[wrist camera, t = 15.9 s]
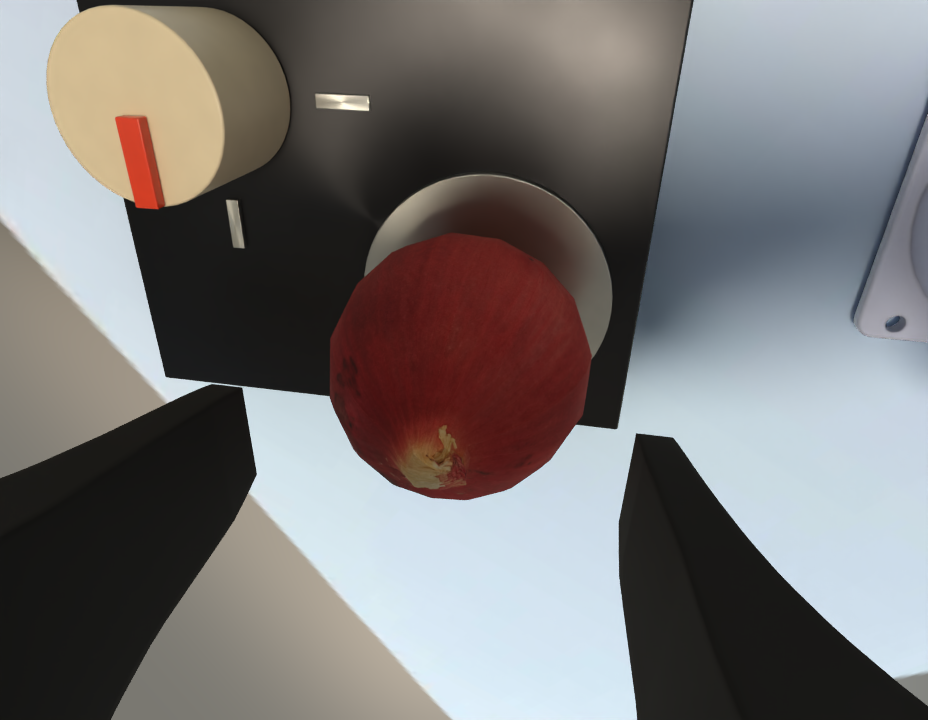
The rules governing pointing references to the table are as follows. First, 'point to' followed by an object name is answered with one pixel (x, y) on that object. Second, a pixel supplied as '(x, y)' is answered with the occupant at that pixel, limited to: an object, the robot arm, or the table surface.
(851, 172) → the table surface
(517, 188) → the burner
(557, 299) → the onion
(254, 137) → the knob
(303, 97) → the hob
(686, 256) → the table surface
